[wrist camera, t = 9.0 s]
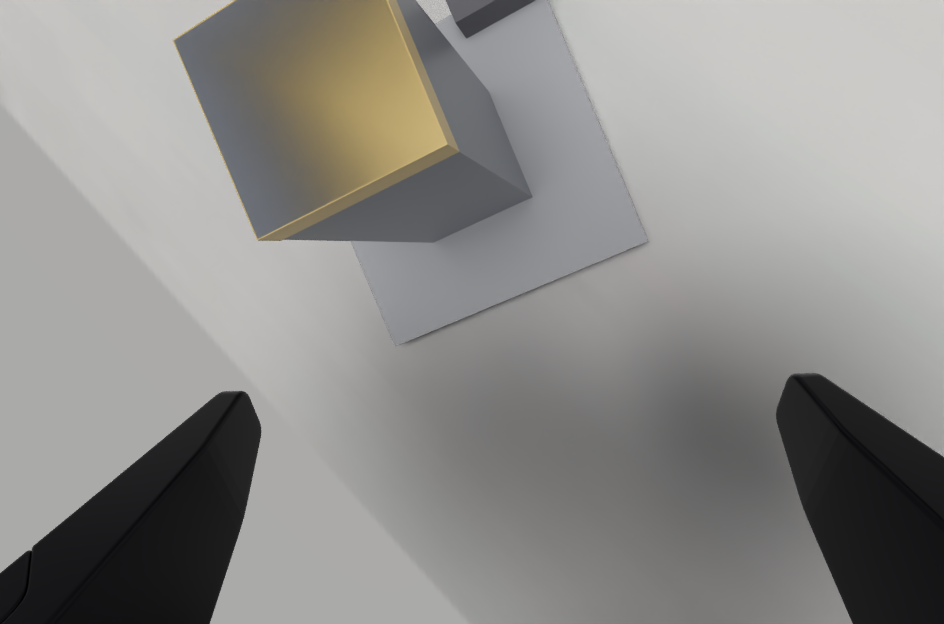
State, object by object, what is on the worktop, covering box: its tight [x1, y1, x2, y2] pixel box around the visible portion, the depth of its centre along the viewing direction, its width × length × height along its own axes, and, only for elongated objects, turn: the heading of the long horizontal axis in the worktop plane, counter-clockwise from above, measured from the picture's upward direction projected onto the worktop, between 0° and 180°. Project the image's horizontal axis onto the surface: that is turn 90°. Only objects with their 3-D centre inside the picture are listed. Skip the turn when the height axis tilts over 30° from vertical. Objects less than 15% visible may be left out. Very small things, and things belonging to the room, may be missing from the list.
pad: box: [351, 0, 648, 346], centre depth 21 cm, size 10×10×2 cm
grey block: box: [173, 0, 533, 243], centre depth 16 cm, size 4×4×11 cm
